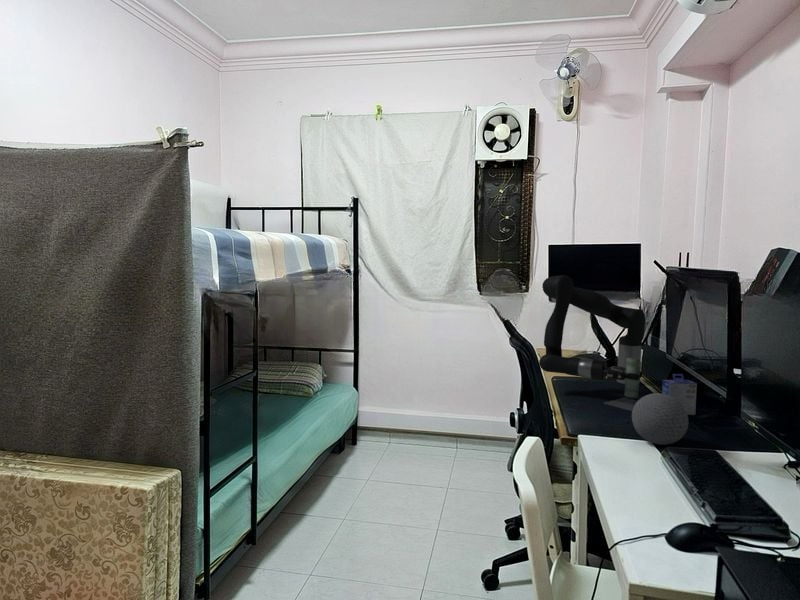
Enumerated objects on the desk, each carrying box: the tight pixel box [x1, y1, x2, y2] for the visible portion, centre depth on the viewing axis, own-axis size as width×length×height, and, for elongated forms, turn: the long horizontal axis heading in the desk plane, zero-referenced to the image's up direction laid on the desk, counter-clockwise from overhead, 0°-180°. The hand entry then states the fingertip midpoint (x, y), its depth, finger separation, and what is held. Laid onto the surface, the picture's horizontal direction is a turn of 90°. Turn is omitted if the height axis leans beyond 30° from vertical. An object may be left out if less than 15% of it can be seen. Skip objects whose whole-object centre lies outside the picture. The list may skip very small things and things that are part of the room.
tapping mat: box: [603, 396, 638, 412], centre depth 185 cm, size 14×14×1 cm
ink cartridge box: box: [661, 373, 698, 416], centre depth 176 cm, size 10×6×14 cm, turn 89°
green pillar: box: [624, 358, 640, 399], centre depth 184 cm, size 5×5×14 cm
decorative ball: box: [631, 392, 689, 446], centre depth 149 cm, size 15×15×15 cm
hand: (640, 376), depth 183 cm, fingers closed on green pillar, 4 cm apart
